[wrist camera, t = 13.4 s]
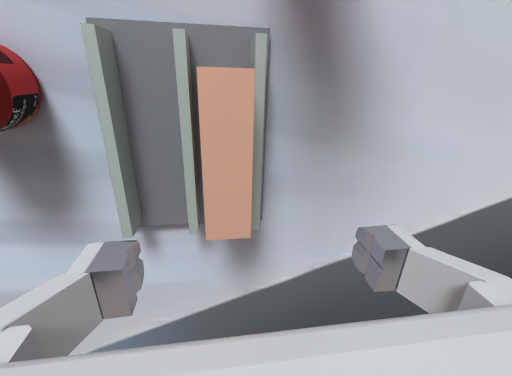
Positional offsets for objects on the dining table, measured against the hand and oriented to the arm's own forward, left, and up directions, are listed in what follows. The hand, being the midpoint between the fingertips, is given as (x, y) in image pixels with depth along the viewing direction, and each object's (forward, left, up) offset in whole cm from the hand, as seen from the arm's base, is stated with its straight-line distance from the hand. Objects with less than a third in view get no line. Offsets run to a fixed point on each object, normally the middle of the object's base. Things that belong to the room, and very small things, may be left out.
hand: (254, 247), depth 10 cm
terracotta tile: (0, +1, -22) cm, 22 cm away
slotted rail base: (+4, +1, -23) cm, 23 cm away
